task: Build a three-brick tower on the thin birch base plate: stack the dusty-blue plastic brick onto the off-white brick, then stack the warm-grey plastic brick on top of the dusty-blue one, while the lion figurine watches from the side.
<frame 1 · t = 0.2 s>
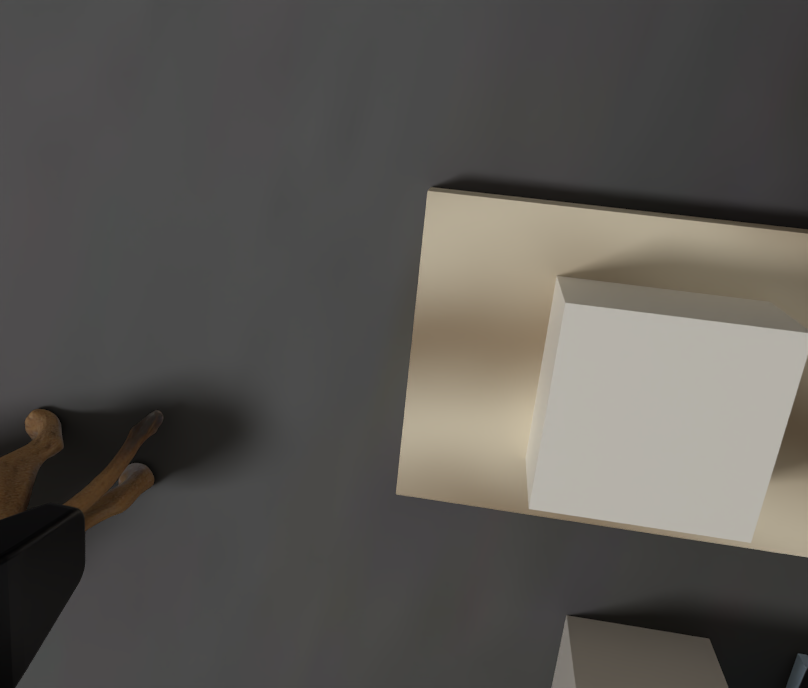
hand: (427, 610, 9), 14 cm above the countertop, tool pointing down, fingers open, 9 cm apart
top brick: (623, 678, 26), on the countertop
lower brick: (640, 384, 21), point 1 cm above the countertop, touching base plate
lion figurine: (10, 484, 27), on the countertop
base plate: (634, 373, 22), on the countertop
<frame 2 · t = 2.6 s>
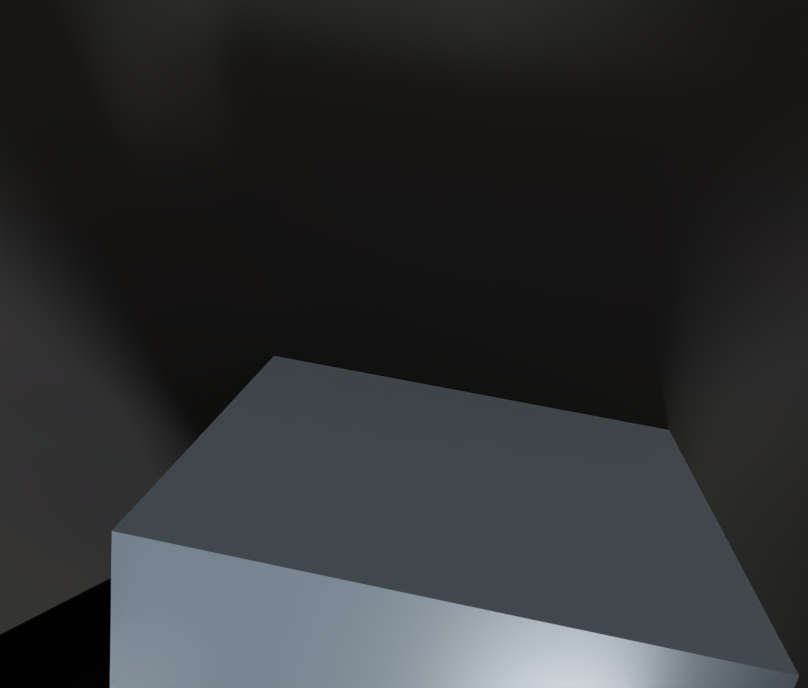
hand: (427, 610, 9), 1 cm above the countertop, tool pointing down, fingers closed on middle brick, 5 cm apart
middle brick: (435, 558, 10), on the countertop, touching gripper
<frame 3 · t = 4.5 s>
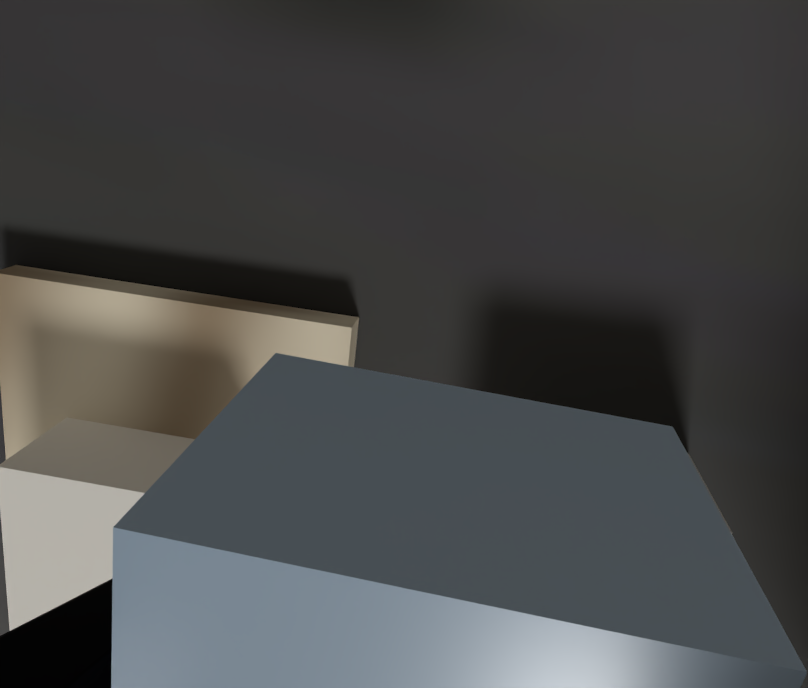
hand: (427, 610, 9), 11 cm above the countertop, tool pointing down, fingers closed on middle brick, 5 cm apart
middle brick: (437, 556, 10), point 10 cm above the countertop, touching gripper
lower brick: (165, 524, 21), point 1 cm above the countertop, touching base plate
base plate: (180, 507, 22), on the countertop
when the fingers open (6 cm above the countertop, at t = 6.4 s): middle brick stays where it is, resting on lower brick.
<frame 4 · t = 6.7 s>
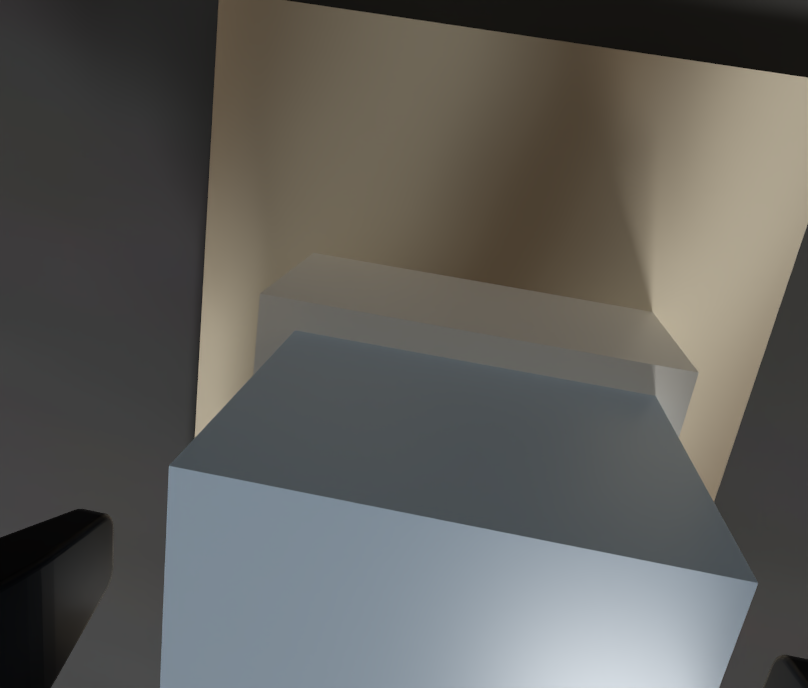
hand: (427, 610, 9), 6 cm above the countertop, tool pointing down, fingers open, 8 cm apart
middle brick: (442, 517, 11), point 4 cm above the countertop, touching lower brick
lower brick: (451, 434, 13), point 1 cm above the countertop, touching base plate, middle brick
base plate: (454, 413, 14), on the countertop
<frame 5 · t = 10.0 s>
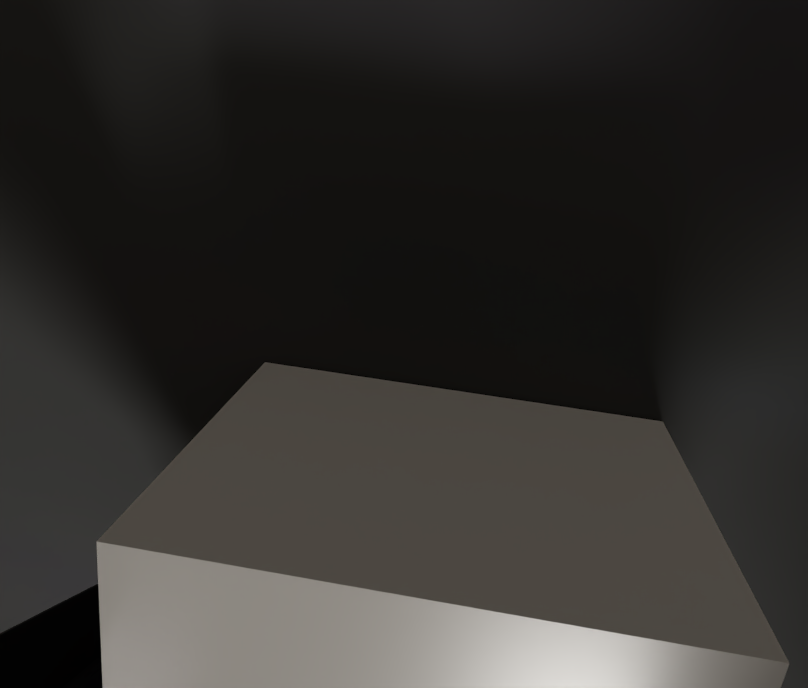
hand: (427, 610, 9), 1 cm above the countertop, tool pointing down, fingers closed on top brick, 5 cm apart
top brick: (434, 559, 10), on the countertop, touching gripper
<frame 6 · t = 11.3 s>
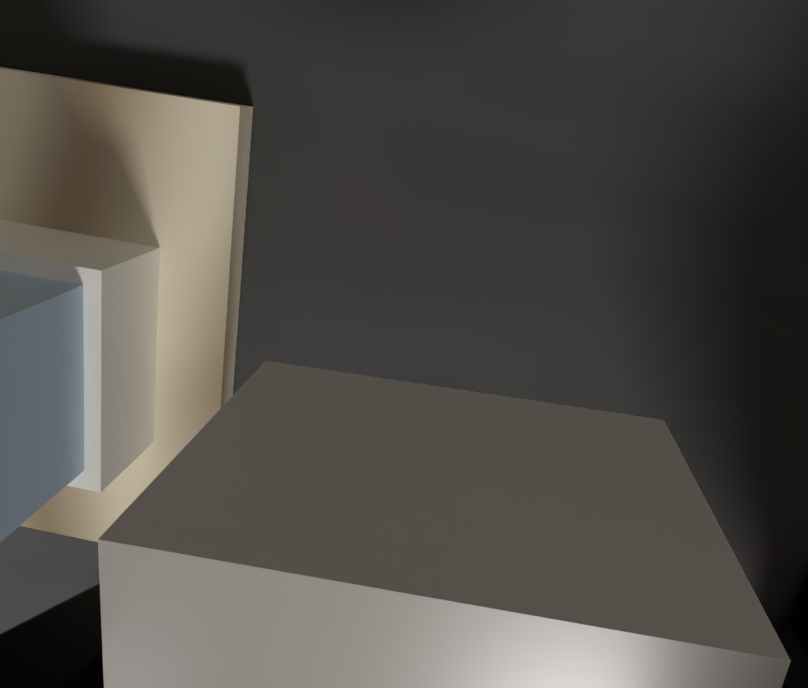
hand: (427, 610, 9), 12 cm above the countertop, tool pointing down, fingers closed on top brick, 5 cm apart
top brick: (435, 558, 10), point 11 cm above the countertop, touching gripper
lower brick: (58, 331, 21), point 1 cm above the countertop, touching base plate, middle brick
base plate: (77, 321, 22), on the countertop
when the fingers open (10 cm above the countertop, at t = 12.9 s): top brick drops 1 cm, resting on middle brick.
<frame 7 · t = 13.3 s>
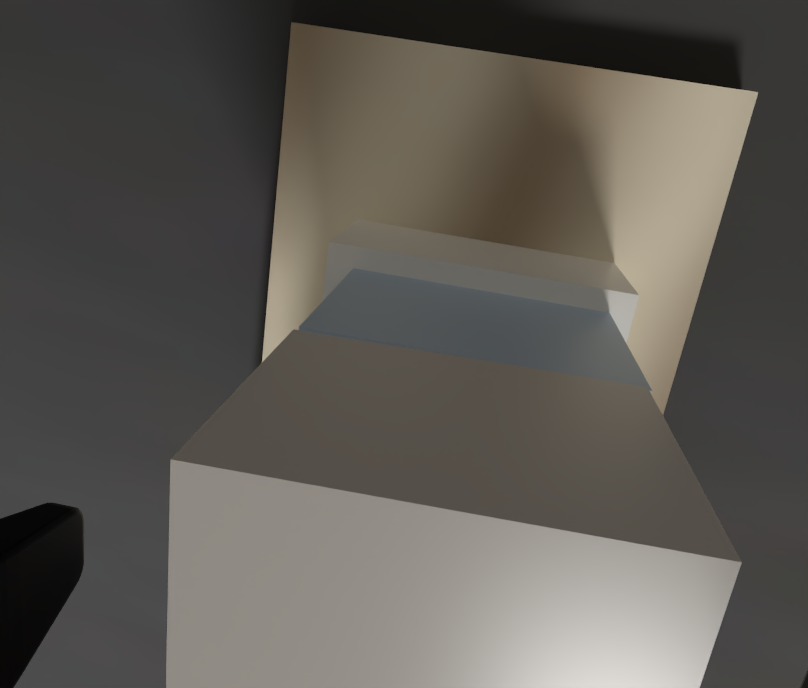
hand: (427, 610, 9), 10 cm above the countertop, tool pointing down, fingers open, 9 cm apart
middle brick: (457, 407, 14), point 4 cm above the countertop, touching lower brick, top brick
top brick: (441, 511, 11), point 8 cm above the countertop, touching middle brick
lower brick: (462, 360, 17), point 1 cm above the countertop, touching base plate, middle brick
base plate: (464, 348, 18), on the countertop
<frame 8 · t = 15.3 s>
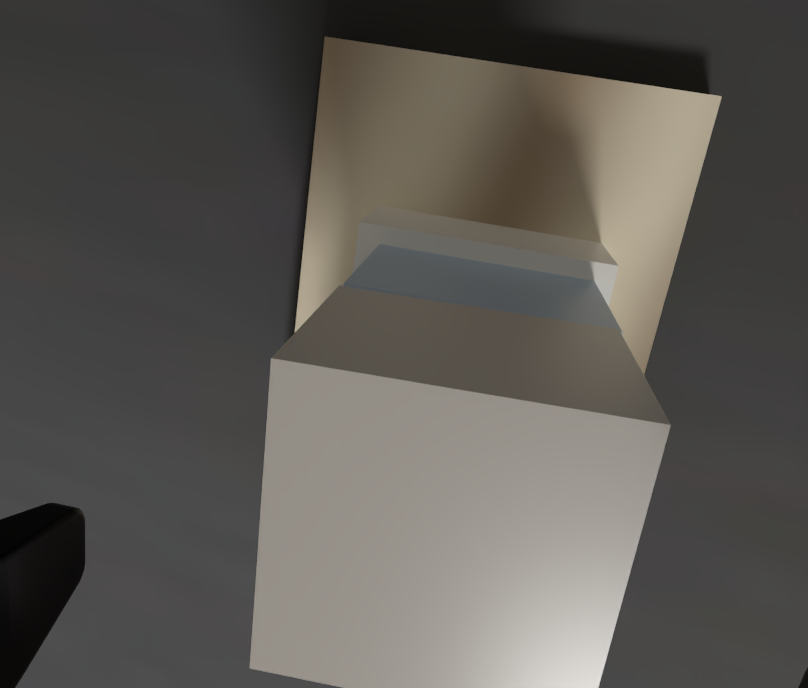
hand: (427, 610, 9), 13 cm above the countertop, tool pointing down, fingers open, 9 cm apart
middle brick: (466, 362, 17), point 4 cm above the countertop, touching lower brick, top brick
top brick: (455, 433, 13), point 8 cm above the countertop, touching middle brick
lower brick: (469, 328, 20), point 1 cm above the countertop, touching base plate, middle brick
base plate: (471, 319, 21), on the countertop
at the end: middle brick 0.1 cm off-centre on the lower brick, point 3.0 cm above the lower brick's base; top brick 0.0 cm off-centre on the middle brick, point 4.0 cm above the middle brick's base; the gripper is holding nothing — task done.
